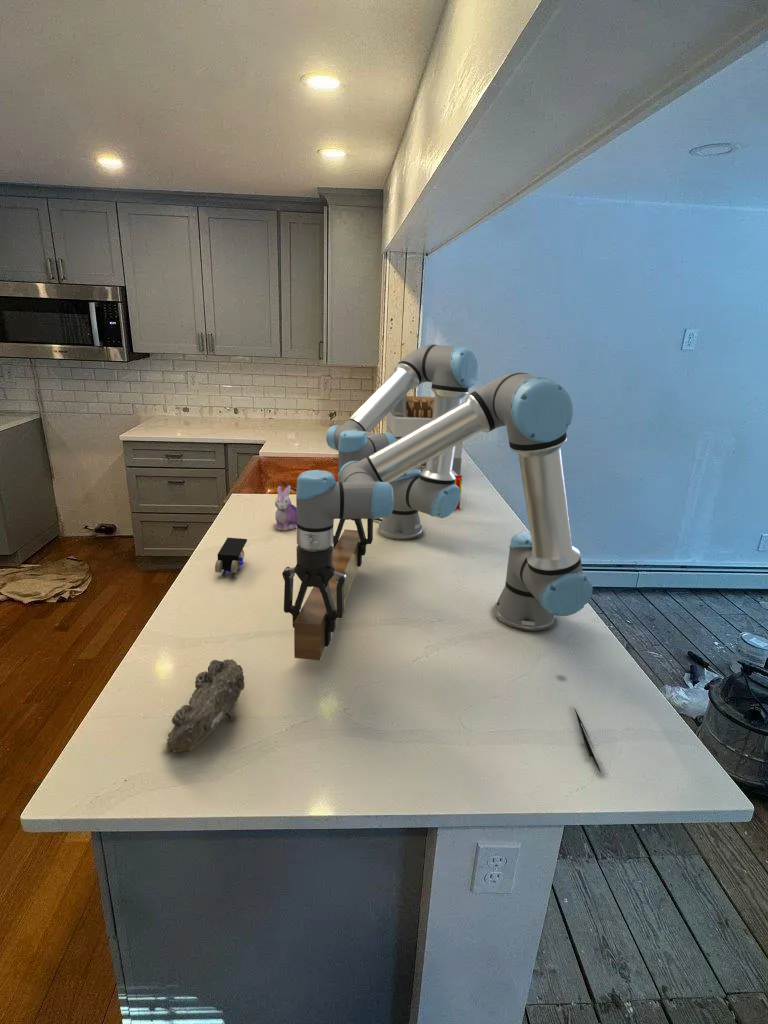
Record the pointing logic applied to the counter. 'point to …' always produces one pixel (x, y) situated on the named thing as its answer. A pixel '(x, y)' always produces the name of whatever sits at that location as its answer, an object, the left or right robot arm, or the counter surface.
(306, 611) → the bar
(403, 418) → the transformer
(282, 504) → the figurine
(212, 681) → the fossil
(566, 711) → the counter surface
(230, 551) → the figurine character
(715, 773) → the counter surface
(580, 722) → the feather
